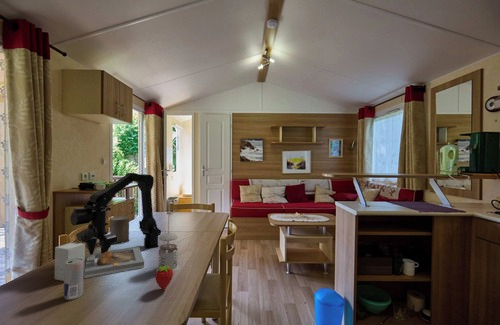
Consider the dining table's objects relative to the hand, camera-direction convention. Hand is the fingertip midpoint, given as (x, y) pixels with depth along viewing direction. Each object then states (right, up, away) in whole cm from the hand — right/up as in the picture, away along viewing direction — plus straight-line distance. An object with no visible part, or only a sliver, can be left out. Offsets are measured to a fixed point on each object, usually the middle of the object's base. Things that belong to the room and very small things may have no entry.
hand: (97, 256), depth 112 cm
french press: (+32, -4, -2) cm, 33 cm away
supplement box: (-3, -4, -12) cm, 13 cm away
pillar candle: (-7, -4, +33) cm, 34 cm away
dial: (+7, -3, +2) cm, 8 cm away
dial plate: (+7, -4, +2) cm, 8 cm away
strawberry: (+38, -4, -21) cm, 43 cm away
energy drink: (+8, -4, -27) cm, 28 cm away
